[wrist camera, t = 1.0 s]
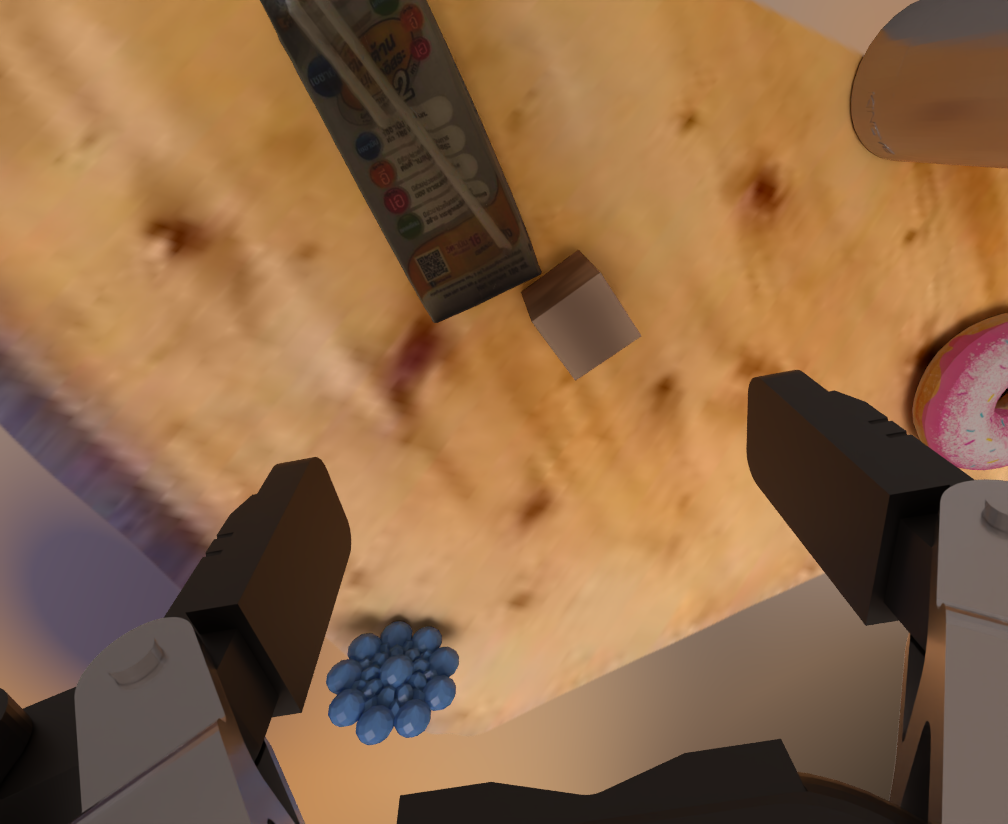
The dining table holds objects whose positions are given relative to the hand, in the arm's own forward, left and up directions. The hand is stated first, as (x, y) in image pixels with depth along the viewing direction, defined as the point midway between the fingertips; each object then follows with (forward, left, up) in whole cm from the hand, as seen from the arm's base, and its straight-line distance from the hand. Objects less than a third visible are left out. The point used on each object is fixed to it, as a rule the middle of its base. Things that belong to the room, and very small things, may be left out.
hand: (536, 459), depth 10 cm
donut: (-26, +35, -31) cm, 53 cm away
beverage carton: (0, -6, -31) cm, 31 cm away
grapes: (+30, +26, -31) cm, 50 cm away
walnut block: (-2, +8, -30) cm, 31 cm away
